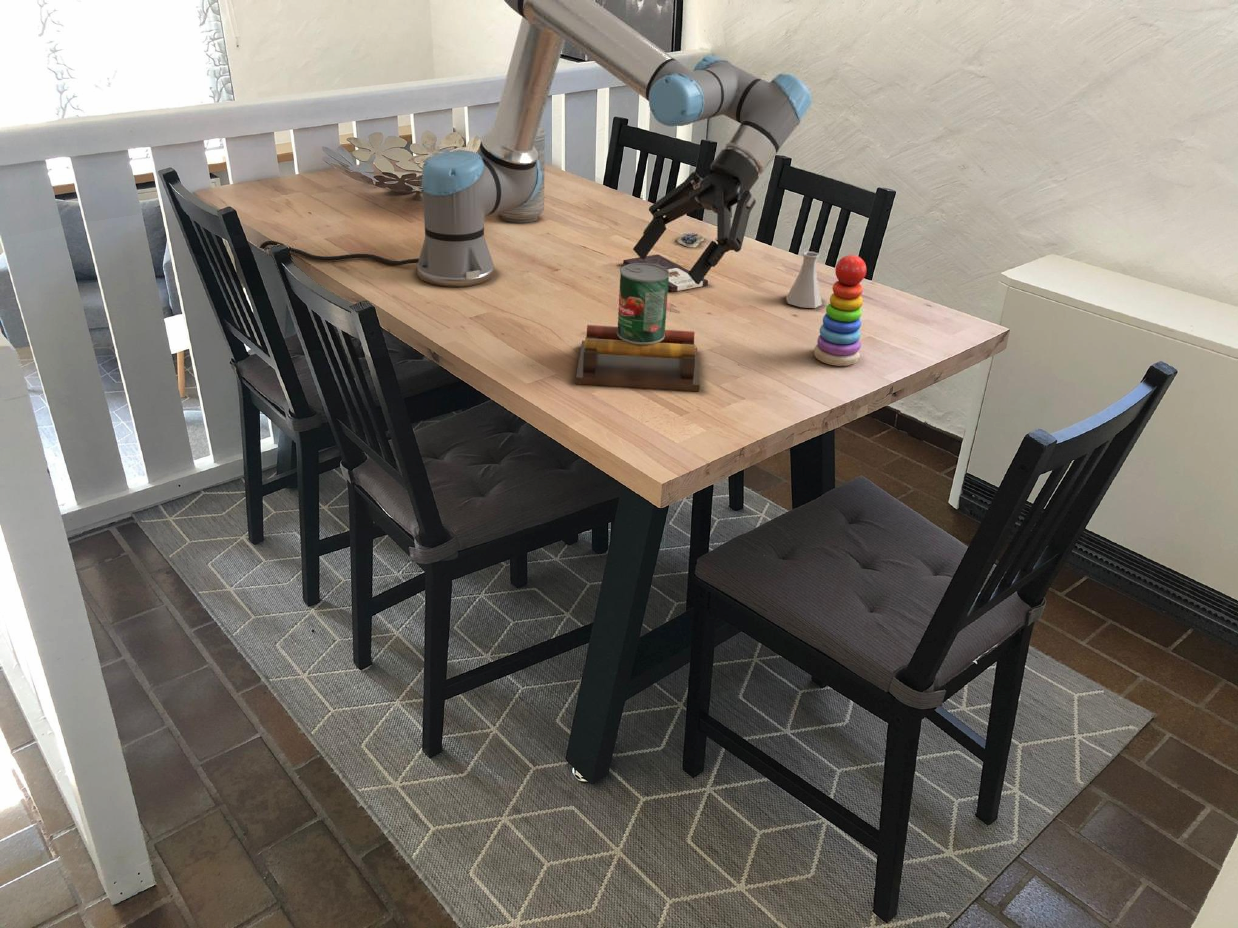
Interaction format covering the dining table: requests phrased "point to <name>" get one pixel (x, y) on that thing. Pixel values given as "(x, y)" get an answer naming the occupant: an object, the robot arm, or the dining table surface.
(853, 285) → the stacking toy
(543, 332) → the dining table surface
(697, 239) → the blueberries
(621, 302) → the canned tomato
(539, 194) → the vase
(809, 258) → the flask
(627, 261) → the chocolate bar
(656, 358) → the rod stand
